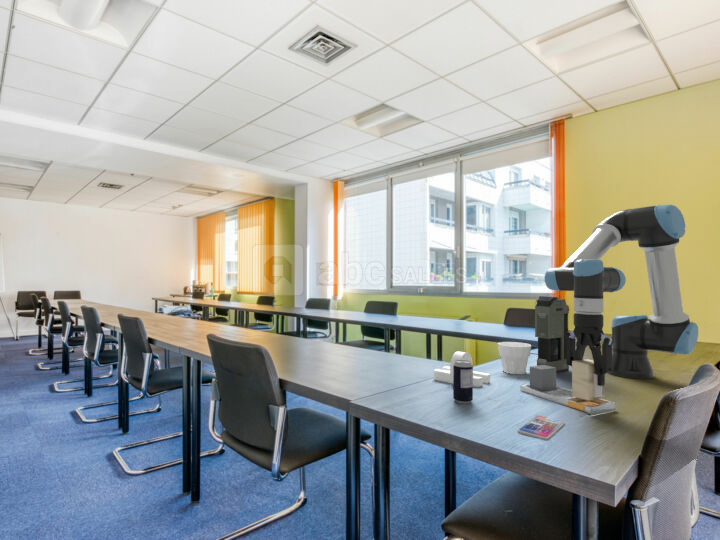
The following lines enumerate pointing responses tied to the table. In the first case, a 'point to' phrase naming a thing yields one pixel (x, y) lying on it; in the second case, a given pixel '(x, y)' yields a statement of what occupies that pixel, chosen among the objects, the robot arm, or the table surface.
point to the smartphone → (541, 428)
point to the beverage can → (463, 381)
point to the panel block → (583, 379)
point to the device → (551, 332)
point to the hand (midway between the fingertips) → (588, 393)
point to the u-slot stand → (447, 371)
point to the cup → (514, 356)
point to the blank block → (543, 377)
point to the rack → (572, 400)
